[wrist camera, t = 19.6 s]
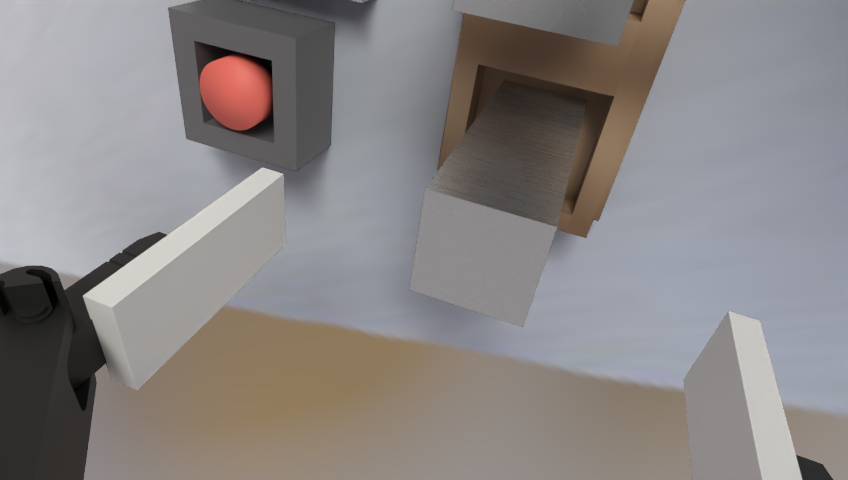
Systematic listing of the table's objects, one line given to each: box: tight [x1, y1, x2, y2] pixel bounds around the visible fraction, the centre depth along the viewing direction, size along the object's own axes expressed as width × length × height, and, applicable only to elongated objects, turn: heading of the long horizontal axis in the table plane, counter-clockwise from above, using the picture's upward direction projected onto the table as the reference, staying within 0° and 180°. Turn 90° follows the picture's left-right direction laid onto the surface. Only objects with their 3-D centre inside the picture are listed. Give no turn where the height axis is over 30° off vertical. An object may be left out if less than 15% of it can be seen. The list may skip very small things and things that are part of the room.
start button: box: [200, 53, 273, 130], centre depth 27 cm, size 4×4×2 cm
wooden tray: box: [437, 0, 685, 238], centre depth 23 cm, size 17×9×3 cm, turn 172°
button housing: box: [168, 0, 335, 172], centre depth 28 cm, size 7×7×4 cm
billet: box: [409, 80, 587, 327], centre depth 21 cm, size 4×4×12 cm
